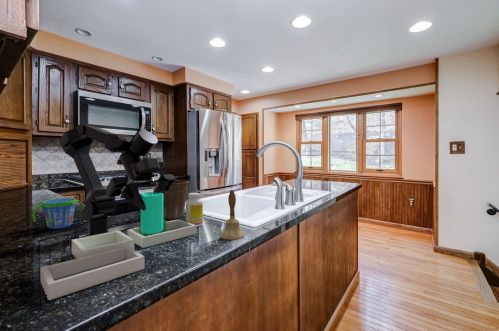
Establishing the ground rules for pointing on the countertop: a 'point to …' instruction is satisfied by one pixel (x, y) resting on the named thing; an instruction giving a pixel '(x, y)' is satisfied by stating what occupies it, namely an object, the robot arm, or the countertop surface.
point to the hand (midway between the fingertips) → (154, 207)
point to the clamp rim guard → (163, 233)
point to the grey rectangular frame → (91, 277)
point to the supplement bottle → (194, 209)
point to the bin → (100, 243)
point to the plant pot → (175, 200)
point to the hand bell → (232, 222)
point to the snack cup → (58, 212)
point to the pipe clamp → (154, 233)
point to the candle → (152, 213)
